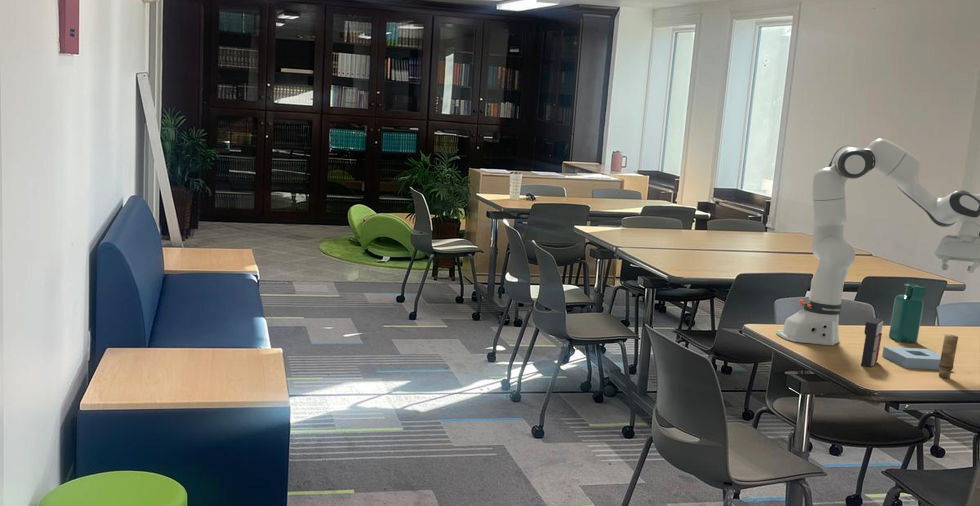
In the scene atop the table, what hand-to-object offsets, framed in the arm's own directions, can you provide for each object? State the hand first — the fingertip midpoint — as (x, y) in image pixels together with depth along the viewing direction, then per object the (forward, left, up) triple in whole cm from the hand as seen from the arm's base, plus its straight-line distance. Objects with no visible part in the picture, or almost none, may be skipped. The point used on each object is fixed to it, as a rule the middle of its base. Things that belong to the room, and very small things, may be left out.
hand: (956, 270), depth 320 cm
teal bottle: (+4, +30, -33) cm, 45 cm away
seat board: (-12, -3, -33) cm, 35 cm away
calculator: (-32, -7, -33) cm, 46 cm away
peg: (-12, -19, -33) cm, 40 cm away
